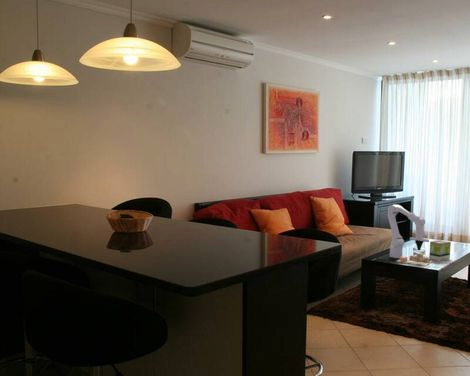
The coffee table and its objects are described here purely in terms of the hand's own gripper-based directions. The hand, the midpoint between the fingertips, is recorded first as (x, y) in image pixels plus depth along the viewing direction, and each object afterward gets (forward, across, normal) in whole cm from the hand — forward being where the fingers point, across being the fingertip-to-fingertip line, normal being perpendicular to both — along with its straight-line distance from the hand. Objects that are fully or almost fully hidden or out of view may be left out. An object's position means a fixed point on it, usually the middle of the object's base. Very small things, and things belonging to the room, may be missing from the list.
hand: (419, 250), depth 377 cm
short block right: (+10, +6, +1) cm, 11 cm away
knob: (+8, -8, -10) cm, 15 cm away
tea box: (+10, +9, +22) cm, 26 cm away
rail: (+10, -1, -9) cm, 13 cm away
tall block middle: (+10, 0, +1) cm, 10 cm away
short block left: (+10, -5, +1) cm, 11 cm away
